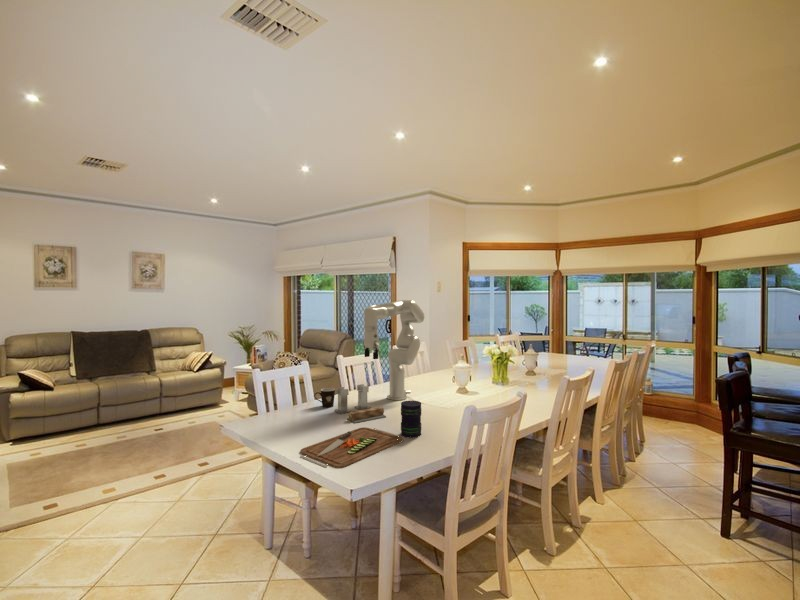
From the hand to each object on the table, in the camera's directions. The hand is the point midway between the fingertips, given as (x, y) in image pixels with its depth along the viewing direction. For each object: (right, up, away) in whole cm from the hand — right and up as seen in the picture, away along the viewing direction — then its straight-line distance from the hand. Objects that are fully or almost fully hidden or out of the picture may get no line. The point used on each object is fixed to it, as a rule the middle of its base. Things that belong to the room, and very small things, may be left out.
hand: (371, 357), depth 240 cm
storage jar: (+22, -31, -44) cm, 58 cm away
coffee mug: (-28, -30, +4) cm, 41 cm away
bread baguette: (-1, -29, -19) cm, 35 cm away
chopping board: (-4, -31, -59) cm, 67 cm away
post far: (-5, -30, 0) cm, 30 cm away
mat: (-1, -30, -19) cm, 35 cm away
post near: (-16, -30, -7) cm, 34 cm away
